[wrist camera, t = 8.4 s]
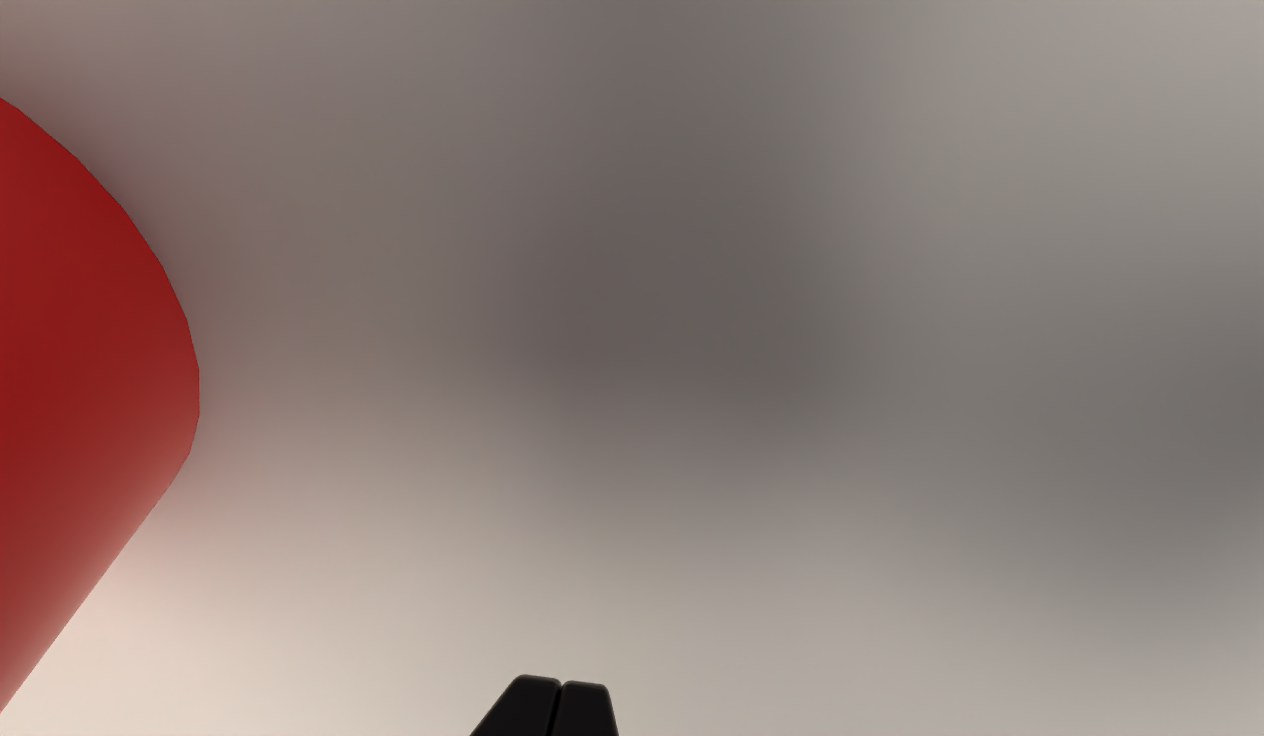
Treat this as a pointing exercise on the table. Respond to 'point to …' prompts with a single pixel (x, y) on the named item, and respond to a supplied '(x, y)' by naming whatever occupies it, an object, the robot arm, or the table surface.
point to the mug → (77, 388)
